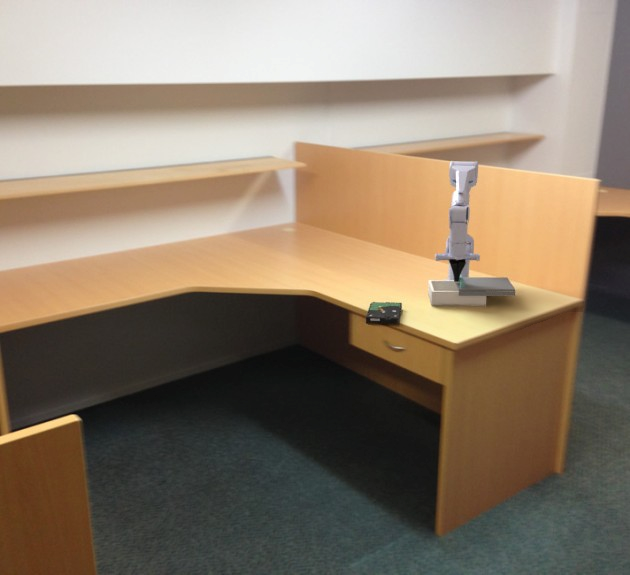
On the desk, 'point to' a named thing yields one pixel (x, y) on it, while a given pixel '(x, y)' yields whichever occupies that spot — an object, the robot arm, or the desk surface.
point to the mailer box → (451, 295)
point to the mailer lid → (485, 286)
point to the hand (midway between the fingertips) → (456, 280)
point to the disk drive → (384, 313)
